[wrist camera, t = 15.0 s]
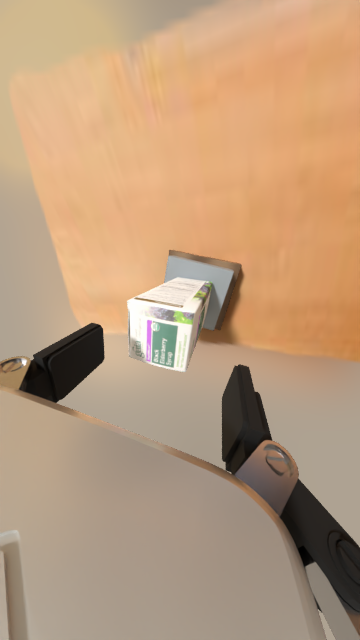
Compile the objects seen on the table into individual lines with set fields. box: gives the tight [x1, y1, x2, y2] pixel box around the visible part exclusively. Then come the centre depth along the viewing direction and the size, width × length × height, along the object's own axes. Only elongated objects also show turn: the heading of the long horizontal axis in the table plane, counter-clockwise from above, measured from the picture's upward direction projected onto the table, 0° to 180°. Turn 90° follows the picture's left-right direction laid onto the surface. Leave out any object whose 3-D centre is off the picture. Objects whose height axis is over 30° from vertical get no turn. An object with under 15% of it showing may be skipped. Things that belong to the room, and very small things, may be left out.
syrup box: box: [127, 277, 212, 372], centre depth 19 cm, size 6×6×14 cm
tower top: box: [164, 256, 234, 331], centre depth 27 cm, size 10×10×3 cm
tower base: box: [169, 250, 241, 330], centre depth 30 cm, size 12×12×3 cm
